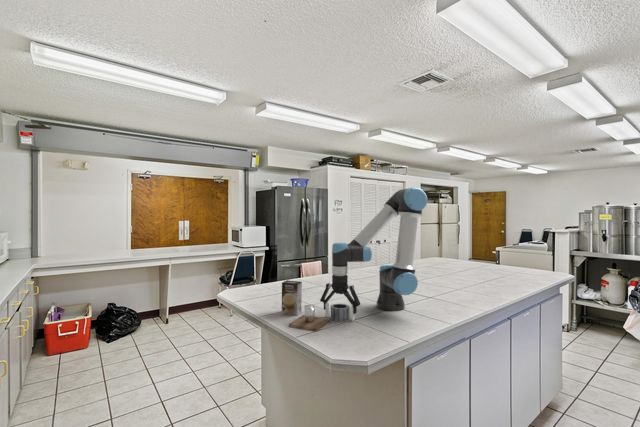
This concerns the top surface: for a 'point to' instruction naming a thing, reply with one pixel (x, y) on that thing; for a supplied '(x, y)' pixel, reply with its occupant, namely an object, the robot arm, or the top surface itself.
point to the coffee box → (291, 297)
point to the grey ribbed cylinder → (340, 312)
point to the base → (309, 326)
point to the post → (309, 314)
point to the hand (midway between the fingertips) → (339, 318)
